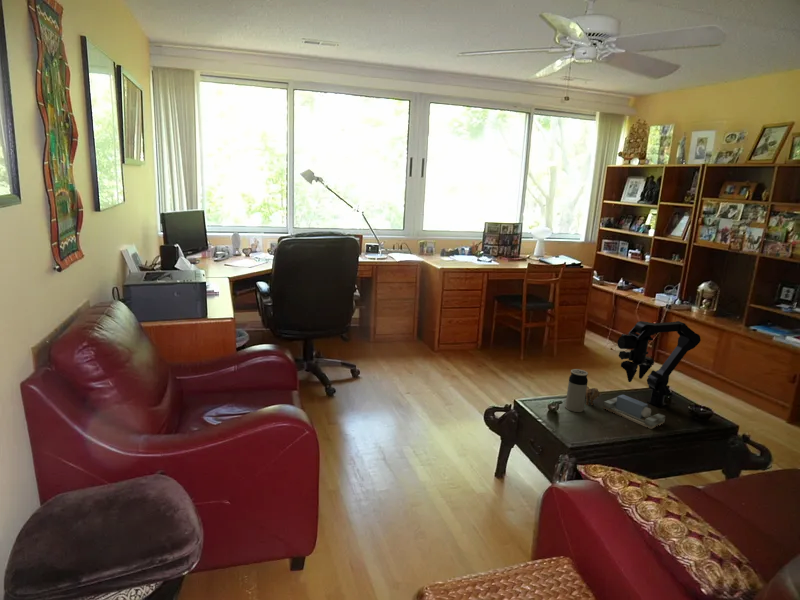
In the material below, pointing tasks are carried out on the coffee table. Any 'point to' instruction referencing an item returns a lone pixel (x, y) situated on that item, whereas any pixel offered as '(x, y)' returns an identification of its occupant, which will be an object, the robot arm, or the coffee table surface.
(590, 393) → the lion figurine
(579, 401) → the travel mug
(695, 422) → the coffee table surface
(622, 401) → the slate grey rectangular prism
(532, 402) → the coffee table surface
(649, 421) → the cradle
